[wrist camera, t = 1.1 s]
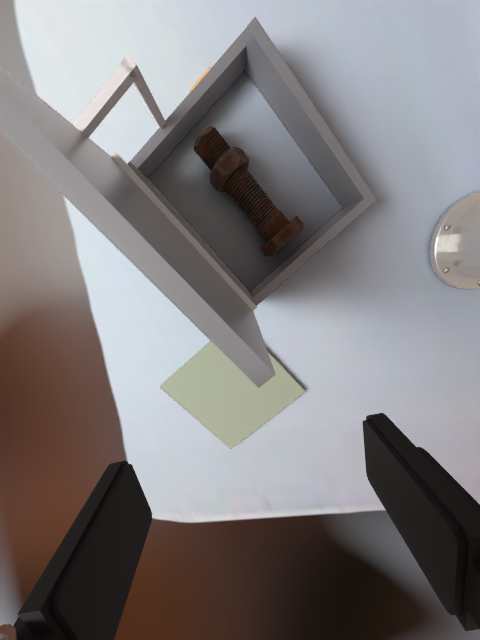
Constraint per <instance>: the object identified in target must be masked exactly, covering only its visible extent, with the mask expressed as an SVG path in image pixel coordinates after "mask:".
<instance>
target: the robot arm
mask: <svg viewBox="0 0 480 640" xmlns="http://www.w3.org/2000/svg"><path fill="white" fill-rule="evenodd" d="M430 261H431V264H432V268H433V270H434V272H435V273H436V275H437V276H438V277H439V278H440V279H441V280H442V281H443V282H444V283H446V284H447V285H450V286H453V287H455V288H462V289H478V288H480V191H477V192H474V193H471V194H469V195H467V196H465V197H463V198H461V199H460V200H458V201H457V202H456V203H455V204H453V205H452V206H451V207H450V208H449V209H448V210H447V211H446V212H445V214H444V215H443V216H442V218H441V219H440V221H439V222H438V224H437V226H436V228H435V230H434V232H433V235H432V239H431V243H430ZM363 433H364V446H365V460H366V473H367V477H368V480H369V482H370V484H371V486H372V487H373V489H374V491H375V492H376V494H377V496H378V498H379V499H380V501H381V503H382V504H383V506H384V508H385V509H386V511H387V513H388V514H389V516H390V518H391V519H392V521H393V523H394V524H395V526H396V528H397V529H398V531H399V533H400V534H401V536H402V538H403V539H404V541H405V543H406V544H407V546H408V548H409V549H410V551H411V553H412V554H413V556H414V558H415V559H416V561H417V563H418V564H419V566H420V568H421V569H422V571H423V573H424V574H425V576H426V578H427V579H428V581H429V583H430V584H431V586H432V588H433V590H434V591H435V593H436V595H437V596H438V598H439V600H440V601H441V603H442V604H443V606H444V607H445V609H446V610H447V612H448V613H449V614H450V615H456V616H457V618H458V620H459V621H460V623H461V624H462V626H463V628H464V629H465V631H469V630H476V629H480V505H479V504H478V503H477V502H476V501H475V500H474V499H473V497H472V496H471V495H470V494H469V493H468V492H467V491H466V490H465V489H464V488H463V487H462V486H461V485H460V484H459V483H458V482H457V481H456V480H455V479H454V478H453V477H452V476H451V475H450V474H449V473H448V472H447V471H446V470H445V469H444V468H443V467H442V466H441V465H440V464H439V463H438V462H437V461H436V460H435V459H434V458H433V457H432V456H431V455H430V454H429V453H428V452H427V451H426V450H424V449H423V448H421V447H416V446H415V445H414V444H413V443H412V442H411V441H410V440H409V439H408V438H407V437H406V436H405V435H404V434H403V433H402V432H401V431H400V430H399V429H398V428H397V427H396V426H395V424H394V423H393V422H392V421H391V420H390V419H389V418H388V417H387V416H386V415H385V414H383V413H379V414H374V415H369V416H367V417H366V420H365V421H363ZM151 520H152V512H151V509H150V507H149V505H148V502H147V500H146V497H145V495H144V493H143V490H142V488H141V486H140V483H139V481H138V478H137V476H136V474H135V471H134V469H133V466H132V465H131V464H128V462H127V461H122V462H116V463H112V464H110V465H109V466H108V467H107V469H106V470H105V472H104V473H103V475H102V477H101V479H100V480H99V482H98V483H97V485H96V487H95V488H94V490H93V492H92V493H91V495H90V497H89V498H88V500H87V502H86V503H85V505H84V506H83V508H82V510H81V511H80V513H79V514H78V516H77V518H76V519H75V521H74V523H73V525H72V526H71V528H70V529H69V531H68V533H67V534H66V536H65V538H64V539H63V541H62V543H61V544H60V546H59V547H58V549H57V551H56V552H55V554H54V556H53V557H52V559H51V560H50V562H49V564H48V565H47V567H46V569H45V570H44V572H43V574H42V575H41V577H40V578H39V580H38V582H37V583H36V585H35V587H34V588H33V590H32V592H31V593H30V595H29V597H28V598H27V600H26V602H25V603H24V605H23V606H22V608H21V610H20V611H19V613H18V615H19V618H18V619H17V621H16V622H15V624H14V626H12V625H11V624H6V625H5V624H4V625H1V626H0V640H114V638H115V634H116V631H117V628H118V625H119V622H120V619H121V616H122V613H123V609H124V606H125V603H126V600H127V597H128V593H129V591H130V587H131V584H132V581H133V578H134V575H135V571H136V568H137V565H138V562H139V559H140V556H141V553H142V550H143V546H144V543H145V540H146V537H147V534H148V530H149V527H150V524H151Z"/></svg>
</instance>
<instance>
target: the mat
mask: <svg viewBox="0 0 480 640" xmlns="http://www.w3.org/2000/svg"><path fill="white" fill-rule="evenodd" d="M268 354H269V357H270V359H271V362H272V365H273V368H274V371H275V373H276V375H275V376H274V377H272V378H271V379H270V380H269V381H267V382H266V383H265V384H264V385H262V386H261V387H260V388H258V387H257V386H256V385H255V384H254V383H253V382H252V381H251V380H250V379H249V378H248V377H247V376H246V375H245V374H244V373H243V372H242V371H241V370H240V369H239V368H238V367H237V366H236V365H235V364H234V363H233V362H232V361H231V360H230V359H229V358H228V357H227V356H226V355H225V354H224V353H223V352H222V351H221V350H220V349H219V348H218V347H217V346H216V345H215V344H214V343H213V342H212V341H210V342H209V343H208V344H207V345H206V346H204V347H203V348H202V349H201V350H200V351H199V352H198V353H197V354H195V355H194V356H193V357H192V358H191V359H190V360H189V361H188V362H186V363H185V364H184V365H183V366H182V367H181V368H180V369H179V370H177V371H176V372H175V373H174V374H173V375H172V376H171V377H170V378H168V379H167V380H166V381H165V382H164V383H163V384H162V385H161V386H160V388H161V389H162V390H163V391H164V392H165V393H166V394H168V395H169V396H170V397H171V398H172V399H173V400H174V401H176V402H177V403H178V404H179V405H180V406H181V407H183V408H184V409H185V410H186V411H187V412H188V413H189V414H191V415H192V416H193V417H194V418H195V419H196V420H198V421H199V422H200V423H201V424H202V425H203V426H204V427H206V428H207V429H208V430H209V431H210V432H211V433H213V434H214V435H215V436H216V437H217V438H218V439H219V440H221V441H222V442H223V443H224V444H225V445H226V446H228V447H229V448H230V449H232V448H233V447H234V446H235V445H237V444H238V443H239V442H241V441H242V440H243V439H245V438H246V437H247V436H248V435H250V434H251V433H252V432H254V431H255V430H256V429H258V428H259V427H260V426H261V425H263V424H264V423H265V422H267V421H268V420H269V419H271V418H272V417H273V416H274V415H276V414H277V413H278V412H280V411H281V410H282V409H284V408H285V407H286V406H287V405H289V404H290V403H291V402H293V401H294V400H295V399H297V398H298V397H299V396H300V395H302V394H303V393H304V392H305V390H304V389H303V388H302V386H301V385H300V384H299V383H298V382H297V381H296V380H295V379H294V378H293V377H292V376H291V375H290V374H289V373H288V372H287V371H286V370H285V369H284V367H283V366H282V365H281V364H280V363H279V362H278V361H277V360H276V359H275V358H274V357H273V356H272V355H271V354H270V353H269V352H268Z"/></svg>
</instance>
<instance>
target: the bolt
mask: <svg viewBox="0 0 480 640" xmlns="http://www.w3.org/2000/svg"><path fill="white" fill-rule="evenodd" d="M194 151H195V152H196V153H197V154H198V155H199V156H200V158H201V159H202V160H203V161H204V163H205V164H206V165H207V166H208V168H209V169H210V170H211V174H210V183H211V184H212V185H213V186H214V188H215V189H216V190H217V191H220V192H224V191H226V190H228V193H230V195H232V197H234V200H235V201H236V202H237V204H239V206H240V207H241V209H243V211H245V213H247V216H248V215H249V216H248V217H249V218H250V220H252V222H254V225H255V224H256V227H257V226H258V227H257V229H258V230H259V232H260V234H261V235H262V236H263V237H264V239H265V240H266V241H267V243H266V244H265V245H264V246H263V247H262V248H261V251H262V252H263V253H264V254H265V255H266V256H272V255H273V254H275V253H276V252H277V251H278V250H280V249H281V248H282V247H283V246H284V245H286V244H287V243H288V242H289V241H290V240H291V239H293V238H294V237H295V236H296V235H297V234H298V233H299V232H300V231H301V230H302V229H303V223H302V222H301V220H300V219H299V218H298V216H296V217H295V218H294V219H293V220H292V221H290V222H289V221H288V220H287V219H286V217H285V216H284V215H283V214H282V212H281V211H279V210H278V209H277V208H275V206H273V205H274V203H272V201H270V198H268V196H266V193H264V191H262V190H263V189H261V187H260V186H259V184H257V181H256V182H255V179H253V177H251V174H249V172H247V167H248V162H249V158H248V157H247V156H246V154H245V153H244V152H243V150H241V149H240V148H237V147H233V148H230V146H228V144H227V143H226V141H224V138H222V136H221V135H220V134H219V132H218V131H217V130H216V128H215V127H212V126H208V127H207V128H205V129H204V130H202V131H201V132H199V133H198V134H197V136H196V138H195V143H194Z"/></svg>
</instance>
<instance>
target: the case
mask: <svg viewBox="0 0 480 640" xmlns="http://www.w3.org/2000/svg"><path fill="white" fill-rule="evenodd" d="M244 70H245V71H246V73H247V74H248V76H249V77H250V78H251V80H252V81H253V83H254V84H255V85H256V87H257V88H258V90H259V91H260V92H261V94H262V95H263V97H264V98H265V100H266V101H267V102H268V104H269V105H270V107H271V108H272V109H273V111H274V112H275V114H276V115H277V116H278V118H279V119H280V121H281V122H282V123H283V125H284V126H285V128H286V129H287V131H288V132H289V133H290V135H291V136H292V138H293V139H294V140H295V142H296V143H297V145H298V146H299V147H300V149H301V150H302V152H303V153H304V154H305V156H306V157H307V159H308V160H309V161H310V163H311V164H312V166H313V167H314V169H315V170H316V171H317V173H318V174H319V176H320V177H321V178H322V180H323V181H324V183H325V184H326V185H327V187H328V188H329V190H330V191H331V192H332V194H333V195H334V197H335V198H336V199H337V201H338V202H339V204H340V205H341V207H342V208H343V209H341V210H340V211H339V212H338V213H337V214H336V215H335V216H334V217H333V218H332V219H330V220H329V221H328V222H327V223H326V224H325V225H324V226H323V227H322V228H320V229H319V230H318V231H317V232H316V233H315V234H314V235H313V236H312V237H310V238H309V239H308V240H307V241H306V242H305V243H304V244H303V245H302V246H300V247H299V248H298V249H297V250H296V251H295V252H294V253H293V254H292V255H290V256H289V257H288V258H287V259H286V260H285V261H284V262H283V263H282V264H280V265H279V266H278V267H277V268H276V269H275V270H274V271H273V272H272V273H270V274H269V275H268V276H267V277H266V278H265V279H264V280H263V281H262V282H261V283H259V284H258V285H257V286H256V287H255V288H254V289H253V290H252V291H251V292H250V291H249V290H248V289H247V287H246V286H245V285H244V284H243V283H242V282H241V281H240V280H239V279H238V277H237V276H236V275H235V274H234V273H233V272H232V271H231V270H230V269H229V268H228V266H227V265H226V264H225V263H224V262H223V261H222V260H221V259H220V258H219V256H218V255H217V254H216V253H215V252H214V251H213V250H212V249H211V248H210V246H209V245H208V244H207V243H206V242H205V241H204V240H203V239H202V238H201V236H200V235H199V234H198V233H197V232H196V231H195V230H194V229H193V228H192V226H191V225H190V224H189V223H188V222H187V221H186V220H185V219H184V218H183V216H182V215H181V214H180V213H179V212H178V211H177V210H176V209H175V208H174V206H173V205H172V204H171V203H170V202H169V201H168V200H167V199H166V198H165V196H164V195H163V194H162V193H161V192H160V191H159V190H158V189H157V188H156V186H155V185H154V184H153V183H152V182H151V181H150V180H149V179H148V177H149V176H150V175H151V174H152V173H153V171H154V170H155V169H156V168H157V167H158V166H159V165H160V164H161V163H162V161H163V160H164V159H165V158H166V157H167V156H168V155H169V154H170V153H171V151H172V150H173V149H174V148H175V147H176V146H177V145H178V144H179V143H180V141H181V140H182V139H183V138H184V137H185V136H186V135H187V134H188V133H189V131H190V130H191V129H192V128H193V127H194V126H195V125H196V124H197V122H198V121H199V120H200V119H201V118H202V117H203V116H204V115H205V114H206V112H207V111H208V110H209V109H210V108H211V107H212V106H213V105H214V104H215V102H216V101H217V100H218V99H219V98H220V97H221V96H222V95H223V94H224V92H225V91H226V90H227V89H228V88H229V87H230V86H231V85H232V84H233V82H234V81H235V80H236V79H237V78H238V77H239V76H240V75H241V73H242V72H243V71H244ZM132 83H133V85H134V87H135V88H136V90H137V92H138V94H139V95H140V97H141V99H142V100H143V102H144V104H145V106H146V107H147V109H148V111H149V113H150V114H151V116H152V118H153V119H154V121H155V123H156V125H157V126H158V128H159V129H158V130H157V131H156V132H155V134H154V135H153V136H152V137H151V138H150V139H149V140H148V142H147V143H146V144H145V145H144V146H143V147H142V149H141V150H140V151H139V152H138V153H137V154H136V155H135V157H134V158H133V159H132V160H131V161H130V162H129V163H128V164H127V163H126V162H125V161H124V160H123V159H122V158H121V157H120V156H119V155H118V154H117V153H116V152H115V153H114V155H113V156H112V157H111V156H110V155H109V154H107V153H106V152H105V151H104V150H103V149H101V148H100V147H99V146H98V145H97V144H95V143H94V142H93V141H92V140H90V139H89V138H88V137H89V136H90V135H91V134H92V133H93V131H94V130H95V129H96V128H97V126H98V125H99V124H100V123H101V122H102V120H103V119H104V118H105V117H106V115H107V114H108V113H109V112H110V110H111V109H112V108H113V107H114V106H115V104H116V103H117V102H118V101H119V99H120V98H121V97H122V96H123V94H124V93H125V92H126V91H127V90H128V88H129V87H130V86H131V85H132ZM0 133H1V134H2V135H3V136H4V137H5V138H6V139H7V140H8V141H9V142H10V143H11V144H12V145H13V146H14V147H15V148H16V149H17V150H18V151H19V152H21V154H22V155H23V156H24V157H25V158H26V159H27V160H28V161H29V162H30V163H32V165H33V166H34V167H35V168H36V169H37V170H39V171H40V173H42V174H43V175H44V176H45V177H46V178H47V179H48V180H49V181H50V182H51V183H52V184H53V185H54V186H55V187H56V188H57V189H58V190H59V191H60V192H61V193H62V194H63V195H64V196H65V197H66V198H67V199H68V200H69V201H70V202H71V203H72V204H73V205H74V206H75V207H76V208H77V209H78V210H79V211H80V212H81V213H82V214H83V215H84V216H85V217H86V218H87V219H88V220H89V221H90V222H91V223H92V224H93V225H94V226H95V227H96V228H97V229H98V230H99V231H100V232H101V233H102V234H103V235H104V236H105V237H106V238H107V239H108V240H109V241H110V242H111V243H112V244H113V245H114V246H115V247H116V248H117V249H118V250H119V251H120V252H121V253H123V254H124V255H125V256H126V257H127V258H128V259H129V260H130V261H131V262H132V263H133V264H134V265H135V266H136V267H137V268H138V269H139V270H140V271H141V272H142V273H143V274H144V275H145V276H146V277H147V278H148V279H149V280H150V281H151V282H152V283H153V284H154V285H155V286H156V287H157V288H158V289H159V290H160V291H161V292H162V293H163V294H164V295H165V296H166V297H167V298H168V299H169V300H170V301H171V302H172V303H173V304H174V305H175V306H176V307H177V308H178V309H179V310H180V311H181V312H182V313H183V314H184V315H185V316H186V317H187V318H188V319H189V320H190V321H191V322H192V323H193V324H194V325H195V326H196V327H197V328H198V329H199V330H200V331H201V332H202V333H204V334H205V335H206V336H207V337H208V338H209V339H210V340H211V341H212V342H213V343H214V344H215V345H216V346H217V347H218V348H219V349H220V350H221V351H222V352H223V353H224V354H225V355H226V356H227V357H228V358H229V359H230V360H231V361H232V362H233V363H234V364H235V365H236V366H237V367H238V368H239V369H240V370H241V371H242V372H243V373H244V374H245V375H246V376H247V377H248V378H249V379H250V380H251V381H252V382H253V383H254V384H255V385H256V386H257V387H258V388H260V387H261V386H262V385H264V384H265V383H266V382H267V381H269V380H270V379H271V378H272V377H274V376H275V375H276V373H275V371H274V368H273V365H272V362H271V359H270V357H269V354H268V351H267V348H266V346H265V343H264V340H263V337H262V334H261V332H260V329H259V326H258V323H257V321H256V318H255V315H254V312H253V310H254V309H256V308H257V307H256V306H257V305H258V304H259V303H260V302H261V301H262V300H264V299H265V298H266V297H267V296H268V295H269V294H270V293H271V292H273V291H274V290H275V289H276V288H277V287H278V286H279V285H281V284H282V283H283V282H284V281H285V280H286V279H287V278H288V277H290V276H291V275H292V274H293V273H294V272H295V271H296V270H297V269H299V268H300V267H301V266H302V265H303V264H304V263H305V262H307V261H308V260H309V259H310V258H311V257H312V256H313V255H314V254H316V253H317V252H318V251H319V250H320V249H321V248H322V247H324V246H325V245H326V244H327V243H328V242H329V241H330V240H331V239H333V238H334V237H335V236H336V235H337V234H338V233H339V232H340V231H342V230H343V229H344V228H345V227H346V226H347V225H348V224H350V223H351V222H352V221H353V220H354V219H355V218H356V217H357V216H359V215H360V214H361V213H362V212H363V211H364V210H365V209H367V208H368V207H369V206H370V205H371V204H372V203H373V202H374V201H376V200H377V199H376V197H375V196H374V194H373V193H372V191H371V190H370V188H369V187H368V185H367V184H366V182H365V181H364V179H363V178H362V176H361V175H360V173H359V172H358V170H357V169H356V167H355V166H354V164H353V163H352V161H351V160H350V158H349V157H348V155H347V154H346V152H345V151H344V149H343V148H342V146H341V145H340V143H339V142H338V140H337V139H336V137H335V136H334V134H333V133H332V131H331V130H330V128H329V127H328V125H327V124H326V122H325V121H324V119H323V118H322V116H321V115H320V113H319V112H318V110H317V109H316V107H315V106H314V104H313V103H312V101H311V100H310V98H309V97H308V95H307V94H306V92H305V91H304V89H303V88H302V86H301V85H300V83H299V82H298V80H297V79H296V77H295V76H294V74H293V73H292V71H291V70H290V68H289V67H288V65H287V64H286V62H285V61H284V59H283V58H282V56H281V55H280V53H279V52H278V50H277V49H276V47H275V45H274V44H273V42H272V41H271V39H270V38H269V36H268V35H267V33H266V32H265V30H264V29H263V27H262V26H261V24H260V23H259V21H258V20H257V18H256V17H255V18H254V19H253V20H252V21H251V22H250V23H249V25H248V26H247V28H246V29H245V30H244V31H243V32H242V33H241V35H240V36H239V37H238V38H237V39H236V40H235V42H234V43H233V44H232V45H231V46H230V47H229V48H228V50H227V51H226V52H225V53H224V54H223V55H222V56H221V58H220V59H219V60H218V61H217V62H216V63H215V65H214V66H213V67H212V68H211V67H209V68H208V70H207V71H206V72H205V73H204V74H203V75H202V76H201V78H200V79H199V80H198V81H197V82H196V83H195V85H194V86H193V87H192V88H191V89H190V93H189V94H188V96H187V97H186V98H185V99H184V100H183V101H182V103H181V104H180V105H179V106H178V107H177V108H176V109H175V111H174V112H173V113H172V114H171V115H170V116H169V117H168V119H167V120H166V121H165V120H164V118H163V116H162V114H161V112H160V110H159V108H158V106H157V104H156V102H155V100H154V98H153V96H152V94H151V92H150V90H149V88H148V86H147V84H146V82H145V80H144V78H143V76H142V74H141V72H140V70H139V68H138V66H137V64H136V63H135V62H134V61H133V60H132V58H131V57H130V56H129V55H127V56H126V58H125V59H124V60H123V61H122V63H121V64H120V65H119V66H118V68H117V69H116V70H115V71H114V73H113V74H112V75H111V77H110V78H109V79H108V80H107V82H106V83H105V84H104V85H103V87H102V88H101V89H100V90H99V92H98V93H97V94H96V96H95V97H94V98H93V99H92V101H91V102H90V103H89V104H88V106H87V107H86V108H85V109H84V111H83V112H82V113H81V115H80V116H79V117H78V118H77V120H76V121H75V122H74V123H73V125H72V124H71V123H70V122H69V121H67V120H66V119H65V118H64V117H63V116H61V115H60V114H59V113H58V112H57V111H55V110H54V109H53V108H52V107H50V106H49V105H48V104H47V103H46V102H44V101H43V100H42V99H41V98H40V97H38V96H37V95H36V94H35V93H34V92H32V91H31V90H30V89H29V88H27V87H26V86H25V85H24V84H22V83H21V82H20V81H19V80H18V79H17V78H15V77H14V76H13V75H12V74H10V73H9V72H8V71H7V70H6V69H4V68H3V67H2V66H1V65H0Z"/></svg>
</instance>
